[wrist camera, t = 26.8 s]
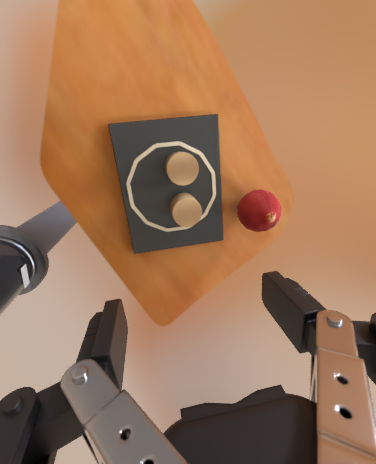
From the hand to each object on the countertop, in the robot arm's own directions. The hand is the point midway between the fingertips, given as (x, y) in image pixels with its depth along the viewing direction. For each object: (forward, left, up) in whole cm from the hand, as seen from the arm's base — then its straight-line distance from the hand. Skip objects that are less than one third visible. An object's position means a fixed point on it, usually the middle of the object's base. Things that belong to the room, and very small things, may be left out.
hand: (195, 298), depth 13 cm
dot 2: (+2, 0, -22) cm, 22 cm away
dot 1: (+2, +5, -22) cm, 23 cm away
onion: (+13, -2, -23) cm, 26 cm away
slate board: (+1, +2, -23) cm, 23 cm away
